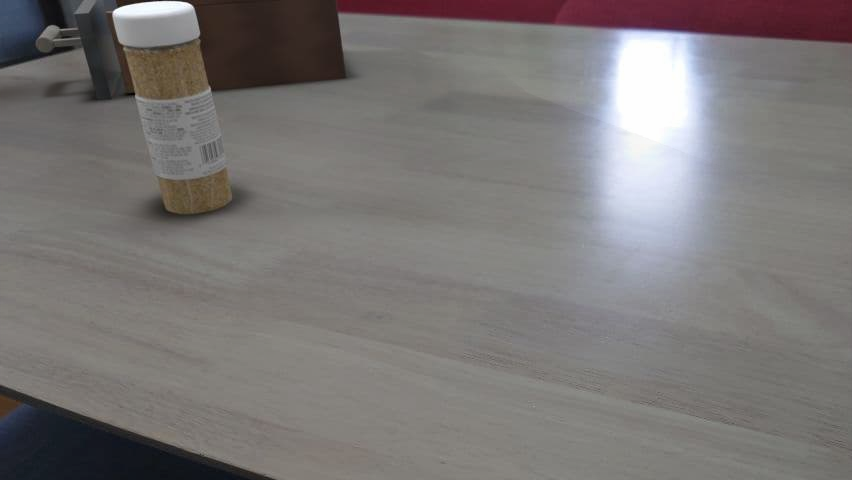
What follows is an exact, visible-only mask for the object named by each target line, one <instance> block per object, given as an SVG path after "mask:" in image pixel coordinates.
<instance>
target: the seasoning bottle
mask: <svg viewBox="0 0 852 480" xmlns="http://www.w3.org/2000/svg"><path fill="white" fill-rule="evenodd" d="M113 11H114V12H113V14H112V17H113V21H114V26H115V30H116V33H117V37H118V41H119V42H120V43H121V44H123V45H124V47H123V50H124V51H125V54H126V58H127V62H128V66H129V70H130V74H131V76H132V81H133V85H134V91H135V93H134V99H135V102H136V105H137V110H138V113H139V117H140V121H141V125H142V129H143V133H144V137H145V141H146V145H147V148H148V152H149V156H150V160H151V164H152V167H153V170H154V174H155V175H156V177H157V181H158V187H159V189H160V192H161V197H162V201H163V204H164V208H165V210H166V211H168V212H170V213H174V214H177V215H178V214H179V215H195V214H203V213H207V212H211V211H215V210H217V209H220V208H223V207H226V205H228V204H230V203H231V202H232V200H233V194H232V189H231V186H230V181H229V176H228V175H229V174H228V170H227V159H226V155H225V154H226V153H225V150H224V144H223V140H222V135H221V131H220V125H219V119H218V117H217V111H216V106H215V103H214V98H213V94H212V91H211V88H210V86H209V85H208V80H207V76H206V71H205V69H204V62H203V59H202V54H201V51H200V39H199V38H198V37H199V35H200V30H199V26H198V21H197V17H196V13H195V9H194V7H193V6H192V5H191V4H189V3H186V2H179V1H157V2H145V3H138V4H132V5H127V6H123V7H120V8H118V7H117V8H115V9H114V10H113Z"/></svg>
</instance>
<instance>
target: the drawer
mask: <svg viewBox="0 0 852 480" xmlns="http://www.w3.org/2000/svg"><path fill="white" fill-rule="evenodd" d="M157 1H171V0H115V3H116V6H117V9H118V8H120V7H123V6H127V5H132V4H138V3H145V2H157ZM113 12H114V10H108V11H107V10H106V6H105V2H104V0H83V1H82V2H81V4H80V5H79V6H78V7H77V9H76V10H75V11H74V13H73V16H74V21H75V25H76V27H73V28H60V27H59V26H58V25H56V24H55V25H54V24H51V25H48V26H47V27H46V28H45V29H44V30H43V32H41V34H40V35H39V37H37V39H36V41H35V47H36V48H37V51H39V52H41V53H44V54H47V53H51V52H52V51H53V50H54V49H55V48H63V47H74V46H75V47H76V46H77V47H78V46H82V49H83V52H84V57H85V61H86V64H87V67H88V70H89V74H90V77H91V81H92V84H93V88H94V92H95V96H96V98H97V101H105V100H106V101H107V100H112V99H113V97H114V94H115V91H116V88H117V86H118V83H119V79H120V77H121V76H122V79H123V84H124V88H125V91H126V94H135V91H134V85H133V81H132V76H131V74H130V70H129V66H128V62H127V58H126V54H125V51H124V50H123V47H124V45H123V44H121V43H120V42H119V41H118V37H117V33H116V30H115V26H114V21H113V17H112V14H113ZM76 36H79V37H76ZM62 37H67V38H62ZM68 37H69V38H68Z"/></svg>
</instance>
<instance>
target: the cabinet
mask: <svg viewBox="0 0 852 480" xmlns="http://www.w3.org/2000/svg"><path fill="white" fill-rule="evenodd" d="M171 1H179V2H186V3H189V4H191V5H192V6H193V7H194V9H195V13H196V17H197V21H198V26H199V30H200V35H199V37H198V38H199V39H200V51H201V54H202V59H203V62H204V69H205V71H206V76H207V80H208V85H209V86H210V88H211V92H215V91H227V90H235V89H247V88H257V87H259V88H260V87H266V86H267V87H268V86H277V85H278V86H279V85H288V84H299V83H308V82H319V81H330V80H331V81H332V80H342V79H347V73H346V65H345V58H344V57H345V56H344V49H343V43H342V35H341V25H340V17H339V10H338V4H337V0H171Z"/></svg>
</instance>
